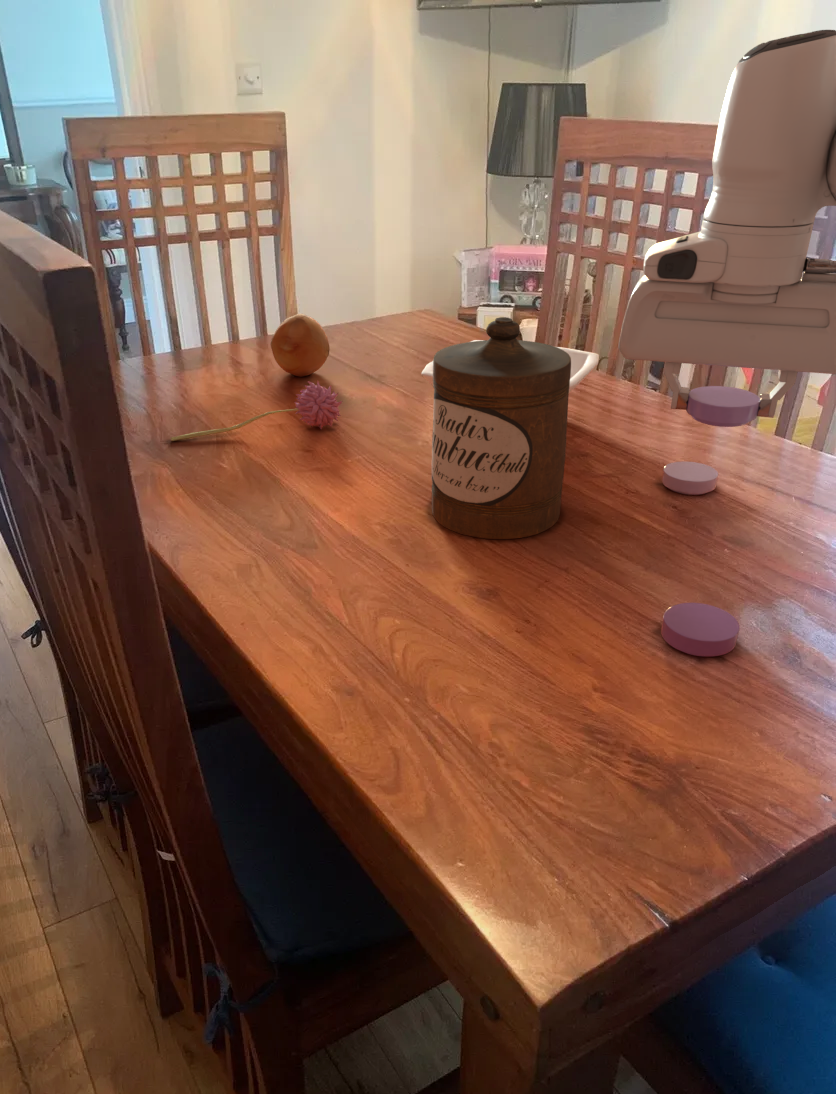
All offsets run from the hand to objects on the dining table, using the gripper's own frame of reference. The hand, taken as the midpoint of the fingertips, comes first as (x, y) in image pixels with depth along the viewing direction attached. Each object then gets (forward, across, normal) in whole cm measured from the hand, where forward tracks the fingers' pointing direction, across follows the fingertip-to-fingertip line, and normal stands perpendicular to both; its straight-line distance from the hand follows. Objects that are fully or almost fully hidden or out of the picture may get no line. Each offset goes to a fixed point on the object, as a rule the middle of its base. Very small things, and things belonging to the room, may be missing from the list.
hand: (720, 411), depth 82 cm
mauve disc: (+16, -1, +16) cm, 22 cm away
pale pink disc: (+16, +1, -19) cm, 25 cm away
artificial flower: (+16, +60, -21) cm, 66 cm away
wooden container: (+16, +22, -5) cm, 28 cm away
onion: (+16, +66, -50) cm, 85 cm away
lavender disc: (+1, 0, 0) cm, 1 cm away
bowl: (+16, +27, -37) cm, 49 cm away
